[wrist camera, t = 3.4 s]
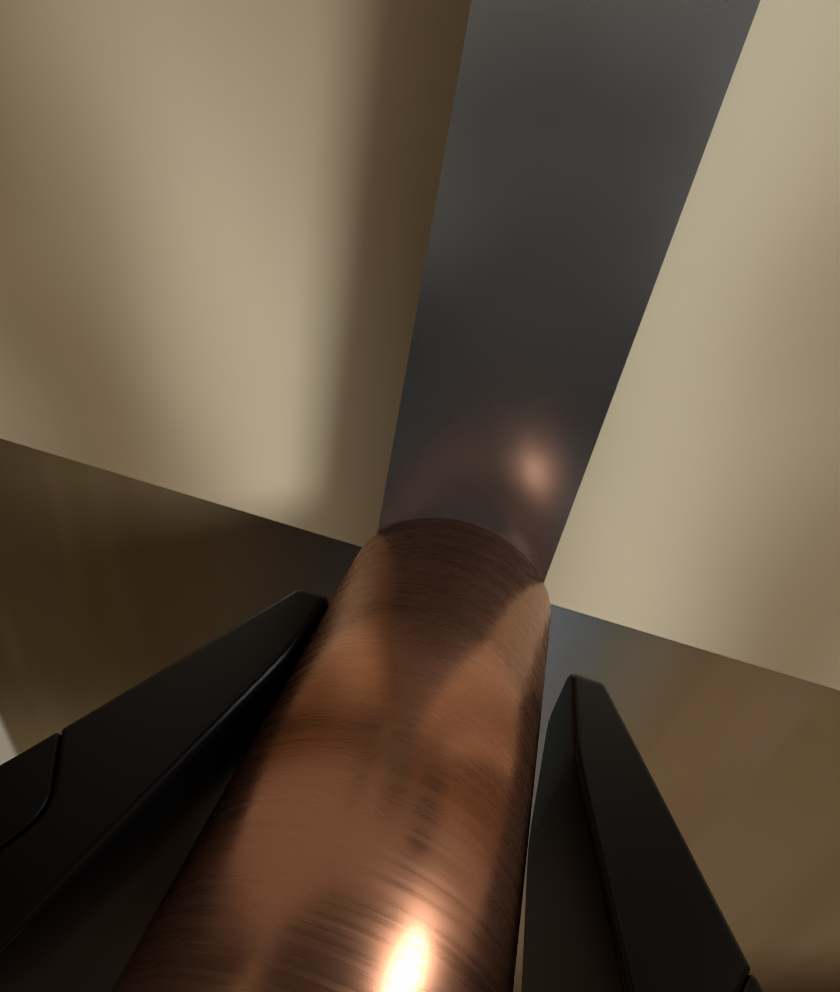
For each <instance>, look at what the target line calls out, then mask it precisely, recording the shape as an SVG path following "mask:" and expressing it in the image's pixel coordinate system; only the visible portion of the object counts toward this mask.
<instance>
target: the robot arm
mask: <svg viewBox="0 0 840 992" xmlns="http://www.w3.org/2000/svg"><path fill="white" fill-rule="evenodd" d="M328 605H329V604H328V599H327V598H326V597H325V596H323V595H320V594H317V593H314V592H310V591H307V590H304V589H300V590H296V591H294V592H293V593H291V594H289V595H288V596H286V597H284V598H283V599H281V600H279V601H278V602H276V603H274V604H273V605H271V606H269V607H268V608H266V609H264V610H262V611H261V612H259V613H257V614H256V615H254V616H252V617H251V618H249V619H247V620H246V621H244V622H242V623H241V624H239V625H237V626H236V627H234V628H232V629H231V630H229V631H227V632H225V633H224V634H222V635H220V636H219V637H217V638H215V639H214V640H212V641H210V642H209V643H207V644H205V645H204V646H202V647H200V648H199V649H197V650H195V651H193V652H192V653H190V654H188V655H187V656H185V657H183V658H182V659H180V660H178V661H177V662H175V663H173V664H172V665H170V666H168V667H167V668H165V669H163V670H162V671H160V672H158V673H156V674H155V675H153V676H151V677H150V678H148V679H146V680H145V681H143V682H141V683H140V684H138V685H136V686H135V687H133V688H131V689H130V690H128V691H126V692H125V693H123V694H121V695H119V696H118V697H116V698H114V699H113V700H111V701H109V702H108V703H106V704H104V705H103V706H101V707H99V708H98V709H96V710H94V711H93V712H91V713H89V714H88V715H86V716H84V717H82V718H81V719H79V720H77V721H76V722H74V723H72V724H71V725H69V726H67V727H66V728H64V729H63V730H62V734H61V735H60V734H58V733H55V734H53V735H52V736H50V737H48V738H47V739H45V740H43V741H42V742H40V743H38V744H37V745H35V746H33V747H31V748H30V749H28V750H26V751H25V752H23V753H21V754H20V755H18V756H16V757H14V758H12V759H11V760H9V761H7V762H5V763H4V764H2V765H0V992H111V990H112V988H113V986H114V984H115V983H116V981H117V979H118V977H119V976H120V974H121V972H122V970H123V969H124V967H125V965H126V963H127V961H128V960H129V958H130V956H131V954H132V953H133V951H134V949H135V947H136V945H137V944H138V942H139V940H140V938H141V937H142V935H143V933H144V931H145V930H146V928H147V926H148V924H149V922H150V921H151V919H152V917H153V915H154V914H155V912H156V910H157V908H158V906H159V905H160V903H161V901H162V899H163V898H164V896H165V894H166V892H167V891H168V889H169V887H170V885H171V883H172V882H173V880H174V878H175V876H176V875H177V873H178V871H179V869H180V867H181V866H182V864H183V862H184V860H185V859H186V857H187V855H188V853H189V852H190V850H191V848H192V846H193V844H194V843H195V841H196V839H197V837H198V836H199V834H200V832H201V830H202V828H203V827H204V825H205V823H206V821H207V820H208V818H209V816H210V814H211V812H212V811H213V809H214V807H215V805H216V804H217V802H218V800H219V798H220V797H221V795H222V793H223V791H224V789H225V788H226V786H227V784H228V782H229V781H230V779H231V777H232V775H233V773H234V772H235V770H236V768H237V766H238V765H239V763H240V761H241V759H242V758H243V756H244V754H245V752H246V750H247V749H248V747H249V745H250V743H251V742H252V740H253V738H254V736H255V734H256V733H257V731H258V729H259V727H260V726H261V724H262V722H263V720H264V719H265V717H266V715H267V713H268V711H269V710H270V708H271V706H272V704H273V703H274V701H275V699H276V697H277V695H278V694H279V692H280V690H281V688H282V687H283V685H284V683H285V681H286V680H287V678H288V676H289V674H290V672H291V671H292V669H293V667H294V665H295V664H296V662H297V660H298V658H299V656H300V655H301V653H302V651H303V649H304V648H305V646H306V644H307V642H308V641H309V639H310V637H311V635H312V633H313V632H314V630H315V628H316V626H317V625H318V623H319V621H320V619H321V617H322V616H323V614H324V612H325V610H326V609H327V607H328ZM749 972H750V966H749V964H748V962H747V960H746V958H745V957H744V955H743V953H742V951H741V949H740V947H739V945H738V943H737V941H736V939H735V937H734V935H733V933H732V931H731V929H730V928H729V926H728V924H727V922H726V920H725V918H724V916H723V914H722V912H721V910H720V908H719V906H718V904H717V902H716V900H715V898H714V897H713V895H712V893H711V891H710V889H709V887H708V885H707V883H706V881H705V879H704V877H703V875H702V873H701V871H700V869H699V867H698V866H697V864H696V862H695V860H694V858H693V856H692V854H691V852H690V850H689V848H688V846H687V844H686V842H685V840H684V838H683V836H682V835H681V833H680V831H679V829H678V827H677V825H676V823H675V821H674V819H673V817H672V815H671V813H670V811H669V809H668V807H667V805H666V804H665V802H664V800H663V798H662V796H661V794H660V792H659V790H658V788H657V786H656V784H655V782H654V780H653V778H652V776H651V775H650V773H649V771H648V769H647V767H646V765H645V763H644V761H643V759H642V757H641V755H640V753H639V751H638V749H637V747H636V745H635V744H634V742H633V740H632V738H631V736H630V734H629V732H628V730H627V728H626V726H625V724H624V722H623V720H622V718H621V716H620V714H619V713H618V711H617V709H616V707H615V705H614V703H613V701H612V699H611V697H610V695H609V693H608V691H607V689H606V687H605V686H604V685H603V684H602V682H600V681H598V680H595V679H592V678H589V677H585V676H582V675H579V674H571V675H570V676H569V677H568V678H567V680H566V682H565V684H564V687H563V689H562V691H561V693H560V695H559V698H558V700H557V702H556V704H555V707H554V709H553V711H552V713H551V716H550V719H549V723H548V727H547V732H546V739H545V745H544V751H543V757H542V763H541V769H540V775H539V781H538V787H537V793H536V800H535V806H534V812H533V818H532V824H531V832H530V839H529V849H528V862H527V883H526V905H525V927H524V949H523V971H522V992H763V991H762V989H761V987H760V985H759V983H758V981H757V979H756V978H755V977H754V976H753V975H748V974H749Z"/></svg>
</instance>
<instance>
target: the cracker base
mask: <svg viewBox="0 0 840 992" xmlns="http://www.w3.org/2000/svg"><path fill="white" fill-rule="evenodd" d="M471 1H472V0H0V438H1V439H4V440H7V441H10V442H14V443H17V444H20V445H24V446H27V447H30V448H34V449H37V450H40V451H44V452H47V453H50V454H54V455H57V456H60V457H64V458H67V459H70V460H74V461H77V462H80V463H84V464H87V465H90V466H94V467H97V468H100V469H104V470H107V471H110V472H114V473H117V474H120V475H124V476H127V477H130V478H134V479H137V480H140V481H144V482H147V483H150V484H154V485H157V486H160V487H164V488H167V489H170V490H174V491H177V492H180V493H184V494H187V495H190V496H194V497H197V498H200V499H204V500H207V501H210V502H214V503H217V504H220V505H224V506H227V507H230V508H234V509H237V510H240V511H244V512H247V513H250V514H254V515H257V516H260V517H264V518H267V519H270V520H273V521H277V522H280V523H283V524H287V525H290V526H293V527H297V528H300V529H303V530H307V531H310V532H313V533H317V534H320V535H323V536H327V537H330V538H333V539H337V540H340V541H343V542H347V543H350V544H353V545H357V546H360V547H363V546H364V545H365V543H366V542H367V541H368V540H369V539H370V538H372V537H373V536H374V535H376V534H377V531H378V526H379V520H380V514H381V509H382V503H383V497H384V492H385V486H386V480H387V475H388V469H389V464H390V458H391V452H392V447H393V441H394V435H395V430H396V424H397V418H398V413H399V407H400V402H401V396H402V390H403V385H404V379H405V373H406V368H407V362H408V356H409V351H410V345H411V339H412V334H413V328H414V323H415V317H416V311H417V306H418V300H419V294H420V289H421V283H422V277H423V272H424V266H425V261H426V255H427V249H428V244H429V238H430V232H431V227H432V221H433V215H434V210H435V204H436V199H437V193H438V187H439V182H440V176H441V170H442V165H443V159H444V153H445V148H446V142H447V136H448V131H449V125H450V120H451V114H452V108H453V103H454V97H455V91H456V86H457V80H458V74H459V69H460V63H461V58H462V52H463V46H464V41H465V35H466V29H467V24H468V18H469V12H470V7H471ZM544 584H545V587H546V589H547V592H548V596H549V600H550V604H553V605H556V606H560V607H563V608H566V609H570V610H573V611H576V612H580V613H583V614H586V615H590V616H593V617H596V618H600V619H603V620H606V621H610V622H613V623H616V624H620V625H623V626H626V627H630V628H633V629H636V630H640V631H643V632H646V633H650V634H653V635H656V636H660V637H663V638H666V639H670V640H673V641H676V642H680V643H683V644H686V645H690V646H693V647H696V648H700V649H703V650H706V651H710V652H713V653H716V654H720V655H723V656H726V657H730V658H733V659H736V660H740V661H743V662H746V663H750V664H753V665H756V666H760V667H763V668H766V669H770V670H773V671H776V672H780V673H783V674H786V675H790V676H793V677H796V678H799V679H803V680H806V681H809V682H813V683H816V684H819V685H823V686H826V687H829V688H833V689H836V690H839V691H840V0H760V3H759V6H758V8H757V11H756V14H755V16H754V19H753V22H752V24H751V27H750V30H749V32H748V35H747V38H746V40H745V43H744V46H743V49H742V51H741V54H740V57H739V59H738V62H737V65H736V67H735V70H734V73H733V75H732V78H731V81H730V84H729V86H728V89H727V92H726V94H725V97H724V100H723V102H722V105H721V108H720V110H719V113H718V116H717V119H716V121H715V124H714V127H713V129H712V132H711V135H710V137H709V140H708V143H707V145H706V148H705V151H704V153H703V156H702V159H701V162H700V164H699V167H698V170H697V172H696V175H695V178H694V180H693V183H692V186H691V188H690V191H689V194H688V197H687V199H686V202H685V205H684V207H683V210H682V213H681V215H680V218H679V221H678V223H677V226H676V229H675V231H674V234H673V237H672V240H671V242H670V245H669V248H668V250H667V253H666V256H665V258H664V261H663V264H662V266H661V269H660V272H659V275H658V277H657V280H656V283H655V285H654V288H653V291H652V293H651V296H650V299H649V301H648V304H647V307H646V310H645V312H644V315H643V318H642V320H641V323H640V326H639V328H638V331H637V334H636V336H635V339H634V342H633V344H632V347H631V350H630V353H629V355H628V358H627V361H626V363H625V366H624V369H623V371H622V374H621V377H620V379H619V382H618V385H617V388H616V390H615V393H614V396H613V398H612V401H611V404H610V406H609V409H608V412H607V414H606V417H605V420H604V422H603V425H602V428H601V431H600V433H599V436H598V439H597V441H596V444H595V447H594V449H593V452H592V455H591V457H590V460H589V463H588V466H587V468H586V471H585V474H584V476H583V479H582V482H581V484H580V487H579V490H578V492H577V495H576V498H575V500H574V503H573V506H572V509H571V511H570V514H569V517H568V519H567V522H566V525H565V527H564V530H563V533H562V535H561V538H560V541H559V544H558V546H557V549H556V552H555V554H554V557H553V560H552V562H551V565H550V568H549V570H548V573H547V576H546V579H545V581H544Z"/></svg>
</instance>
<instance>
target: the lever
mask: <svg viewBox="0 0 840 992" xmlns="http://www.w3.org/2000/svg"><path fill="white" fill-rule="evenodd" d="M759 3H760V0H472V1H471V7H470V12H469V18H468V24H467V29H466V35H465V41H464V46H463V52H462V58H461V63H460V69H459V74H458V80H457V86H456V91H455V97H454V103H453V108H452V114H451V120H450V125H449V131H448V136H447V142H446V148H445V153H444V159H443V165H442V170H441V176H440V182H439V187H438V193H437V199H436V204H435V210H434V215H433V221H432V227H431V232H430V238H429V244H428V249H427V255H426V261H425V266H424V272H423V277H422V283H421V289H420V294H419V300H418V306H417V311H416V317H415V323H414V328H413V334H412V339H411V345H410V351H409V356H408V362H407V368H406V373H405V379H404V385H403V390H402V396H401V402H400V407H399V413H398V418H397V424H396V430H395V435H394V441H393V447H392V452H391V458H390V464H389V469H388V475H387V480H386V486H385V492H384V497H383V503H382V509H381V514H380V520H379V526H378V531H377V534H376V535H374V536H373V537H372V538H370V539H369V540H368V541H367V542H366V543H365V545H364V546H363V547H362V548H361V549H360V551H359V552H358V554H357V556H356V557H355V559H354V561H353V562H352V564H351V566H350V568H349V570H348V571H347V573H346V575H345V577H344V578H343V580H342V582H341V584H340V586H339V587H338V589H337V591H336V593H335V594H334V596H333V598H332V600H331V601H330V603H329V605H328V607H327V609H326V610H325V612H324V614H323V616H322V617H321V619H320V621H319V623H318V625H317V626H316V628H315V630H314V632H313V633H312V635H311V637H310V639H309V641H308V642H307V644H306V646H305V648H304V649H303V651H302V653H301V655H300V656H299V658H298V660H297V662H296V664H295V665H294V667H293V669H292V671H291V672H290V674H289V676H288V678H287V680H286V681H285V683H284V685H283V687H282V688H281V690H280V692H279V694H278V695H277V697H276V699H275V701H274V703H273V704H272V706H271V708H270V710H269V711H268V713H267V715H266V717H265V719H264V720H263V722H262V724H261V726H260V727H259V729H258V731H257V733H256V734H255V736H254V738H253V740H252V742H251V743H250V745H249V747H248V749H247V750H246V752H245V754H244V756H243V758H242V759H241V761H240V763H239V765H238V766H237V768H236V770H235V772H234V773H233V775H232V777H231V779H230V781H229V782H228V784H227V786H226V788H225V789H224V791H223V793H222V795H221V797H220V798H219V800H218V802H217V804H216V805H215V807H214V809H213V811H212V812H211V814H210V816H209V818H208V820H207V821H206V823H205V825H204V827H203V828H202V830H201V832H200V834H199V836H198V837H197V839H196V841H195V843H194V844H193V846H192V848H191V850H190V852H189V853H188V855H187V857H186V859H185V860H184V862H183V864H182V866H181V867H180V869H179V871H178V873H177V875H176V876H175V878H174V880H173V882H172V883H171V885H170V887H169V889H168V891H167V892H166V894H165V896H164V898H163V899H162V901H161V903H160V905H159V906H158V908H157V910H156V912H155V914H154V915H153V917H152V919H151V921H150V922H149V924H148V926H147V928H146V930H145V931H144V933H143V935H142V937H141V938H140V940H139V942H138V944H137V945H136V947H135V949H134V951H133V953H132V954H131V956H130V958H129V960H128V961H127V963H126V965H125V967H124V969H123V970H122V972H121V974H120V976H119V977H118V979H117V981H116V983H115V984H114V986H113V988H112V990H111V992H513V985H514V975H515V965H516V955H517V945H518V935H519V926H520V916H521V906H522V896H523V886H524V876H525V867H526V857H527V847H528V837H529V827H530V817H531V808H532V798H533V788H534V778H535V768H536V758H537V748H538V739H539V729H540V719H541V709H542V699H543V689H544V680H545V670H546V660H547V650H548V640H549V630H550V621H551V606H550V600H549V596H548V592H547V589H546V587H545V584H544V581H545V579H546V576H547V573H548V570H549V568H550V565H551V562H552V560H553V557H554V554H555V552H556V549H557V546H558V544H559V541H560V538H561V535H562V533H563V530H564V527H565V525H566V522H567V519H568V517H569V514H570V511H571V509H572V506H573V503H574V500H575V498H576V495H577V492H578V490H579V487H580V484H581V482H582V479H583V476H584V474H585V471H586V468H587V466H588V463H589V460H590V457H591V455H592V452H593V449H594V447H595V444H596V441H597V439H598V436H599V433H600V431H601V428H602V425H603V422H604V420H605V417H606V414H607V412H608V409H609V406H610V404H611V401H612V398H613V396H614V393H615V390H616V388H617V385H618V382H619V379H620V377H621V374H622V371H623V369H624V366H625V363H626V361H627V358H628V355H629V353H630V350H631V347H632V344H633V342H634V339H635V336H636V334H637V331H638V328H639V326H640V323H641V320H642V318H643V315H644V312H645V310H646V307H647V304H648V301H649V299H650V296H651V293H652V291H653V288H654V285H655V283H656V280H657V277H658V275H659V272H660V269H661V266H662V264H663V261H664V258H665V256H666V253H667V250H668V248H669V245H670V242H671V240H672V237H673V234H674V231H675V229H676V226H677V223H678V221H679V218H680V215H681V213H682V210H683V207H684V205H685V202H686V199H687V197H688V194H689V191H690V188H691V186H692V183H693V180H694V178H695V175H696V172H697V170H698V167H699V164H700V162H701V159H702V156H703V153H704V151H705V148H706V145H707V143H708V140H709V137H710V135H711V132H712V129H713V127H714V124H715V121H716V119H717V116H718V113H719V110H720V108H721V105H722V102H723V100H724V97H725V94H726V92H727V89H728V86H729V84H730V81H731V78H732V75H733V73H734V70H735V67H736V65H737V62H738V59H739V57H740V54H741V51H742V49H743V46H744V43H745V40H746V38H747V35H748V32H749V30H750V27H751V24H752V22H753V19H754V16H755V14H756V11H757V8H758V6H759Z"/></svg>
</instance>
